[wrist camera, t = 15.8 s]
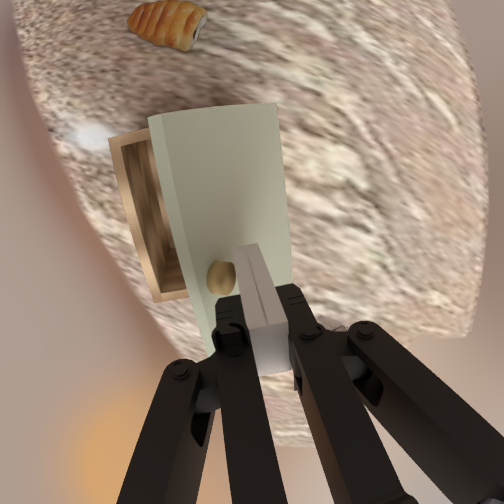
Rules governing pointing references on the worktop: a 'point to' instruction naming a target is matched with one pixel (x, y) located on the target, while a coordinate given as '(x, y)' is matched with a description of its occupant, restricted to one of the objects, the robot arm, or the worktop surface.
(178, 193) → the lid
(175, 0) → the pastry
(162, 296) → the box
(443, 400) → the robot arm
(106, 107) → the worktop surface
